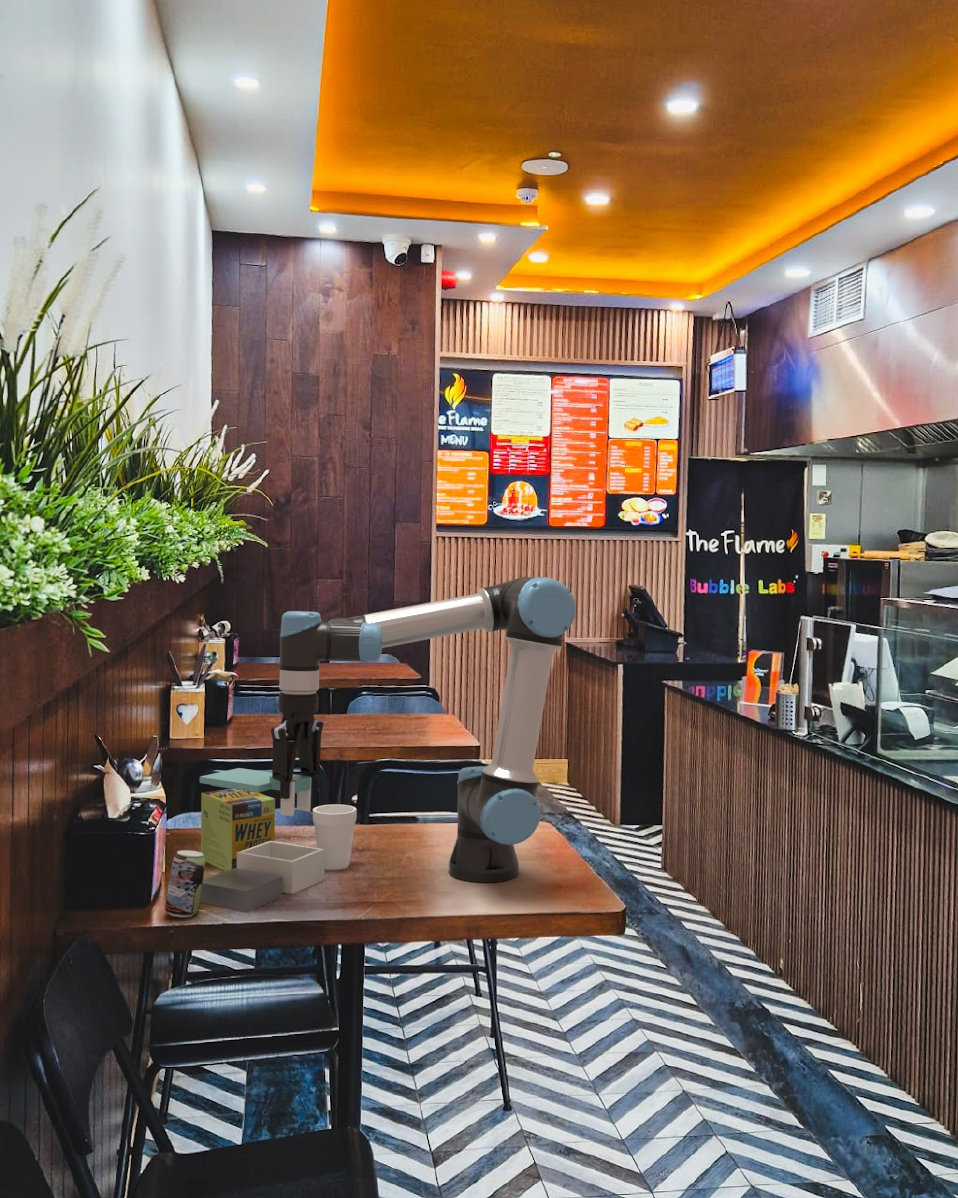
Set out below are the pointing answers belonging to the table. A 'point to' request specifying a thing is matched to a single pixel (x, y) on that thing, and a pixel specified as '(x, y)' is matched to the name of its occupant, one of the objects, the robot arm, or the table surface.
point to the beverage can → (185, 883)
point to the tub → (285, 863)
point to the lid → (252, 780)
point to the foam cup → (335, 833)
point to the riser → (240, 889)
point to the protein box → (234, 824)
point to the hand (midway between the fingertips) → (295, 812)
